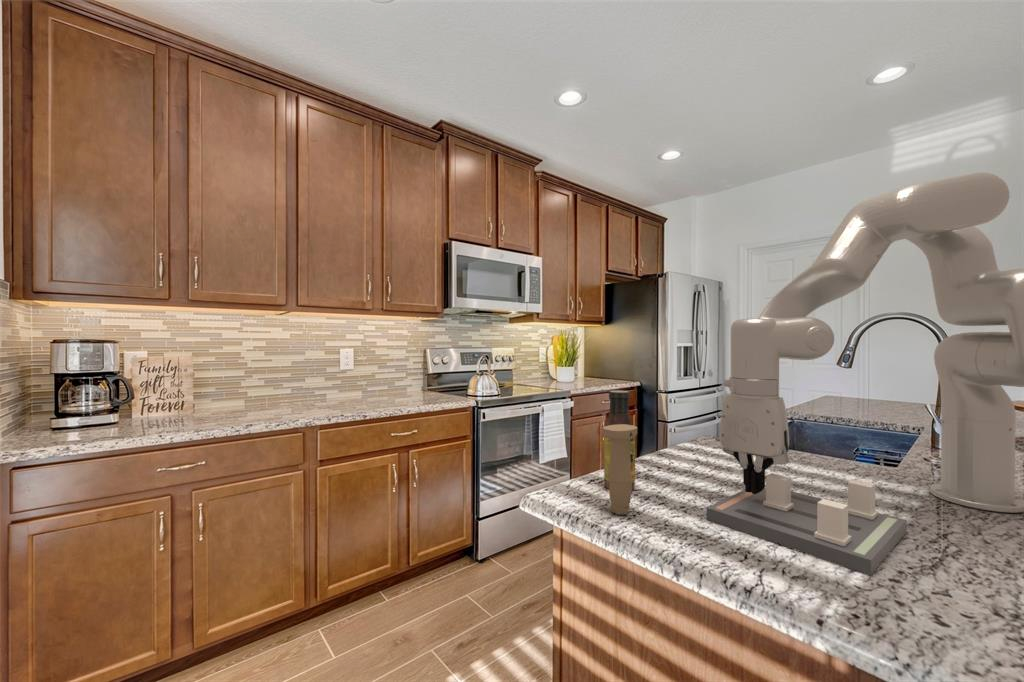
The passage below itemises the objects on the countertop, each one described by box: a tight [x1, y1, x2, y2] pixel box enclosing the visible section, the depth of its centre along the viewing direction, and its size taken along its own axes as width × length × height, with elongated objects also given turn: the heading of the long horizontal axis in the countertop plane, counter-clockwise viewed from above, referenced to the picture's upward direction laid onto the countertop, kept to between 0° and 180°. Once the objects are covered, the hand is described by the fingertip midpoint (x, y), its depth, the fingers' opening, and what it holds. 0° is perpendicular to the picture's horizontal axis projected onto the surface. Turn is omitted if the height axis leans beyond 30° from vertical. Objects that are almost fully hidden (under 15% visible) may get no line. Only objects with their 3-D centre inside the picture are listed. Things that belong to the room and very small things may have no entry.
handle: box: [602, 424, 638, 516], centre depth 77 cm, size 5×6×15 cm
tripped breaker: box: [763, 473, 794, 512], centre depth 74 cm, size 3×4×5 cm
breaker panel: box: [705, 484, 908, 576], centre depth 71 cm, size 20×22×2 cm
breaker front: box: [814, 498, 851, 547], centre depth 62 cm, size 3×4×5 cm
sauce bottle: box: [603, 389, 636, 491], centre depth 89 cm, size 7×6×20 cm
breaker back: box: [847, 479, 879, 520], centre depth 70 cm, size 3×4×5 cm
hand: (754, 491), depth 77 cm, fingers closed
